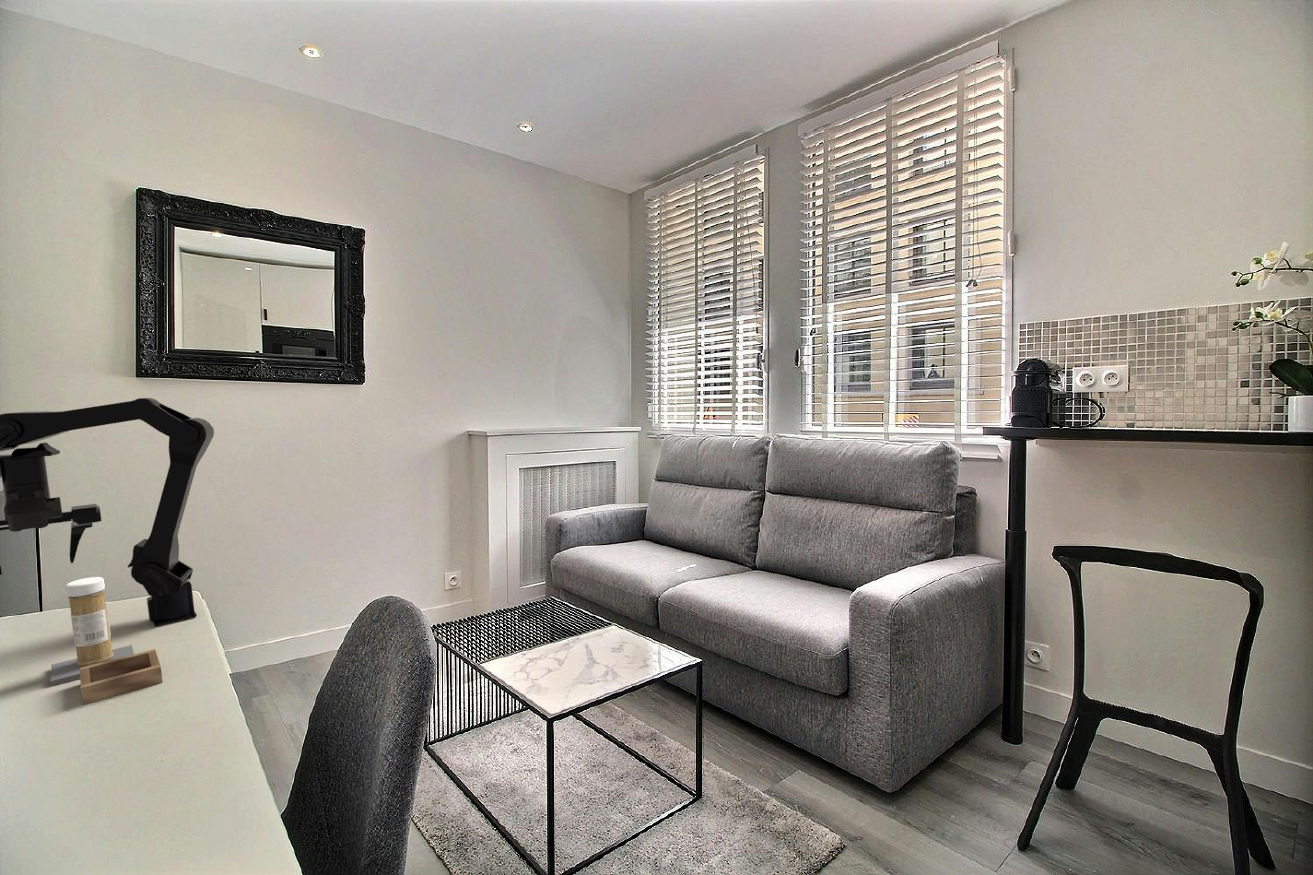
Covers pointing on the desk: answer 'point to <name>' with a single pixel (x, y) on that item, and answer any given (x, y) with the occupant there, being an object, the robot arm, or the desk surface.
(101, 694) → the collar
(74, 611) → the sprinkles bottle
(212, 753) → the desk surface
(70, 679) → the pad
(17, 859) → the desk surface
